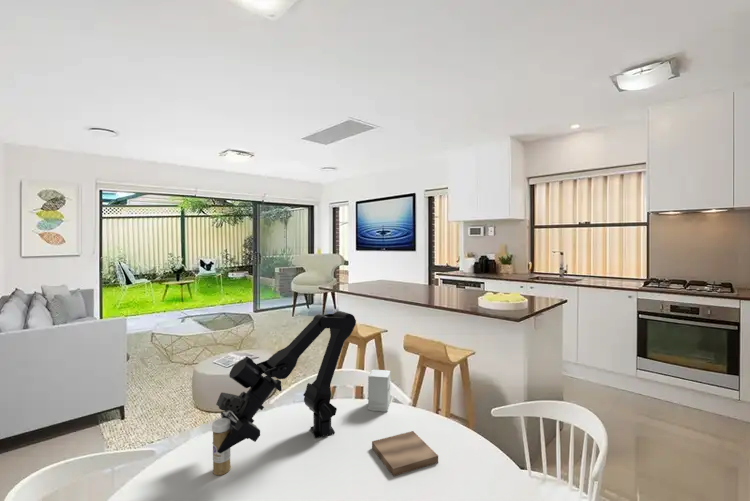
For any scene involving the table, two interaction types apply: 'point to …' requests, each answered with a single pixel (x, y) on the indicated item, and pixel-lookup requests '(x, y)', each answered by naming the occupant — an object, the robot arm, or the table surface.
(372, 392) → the supplement box
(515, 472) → the table surface
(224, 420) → the sprinkles bottle
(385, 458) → the brown wooden square board
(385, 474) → the table surface
